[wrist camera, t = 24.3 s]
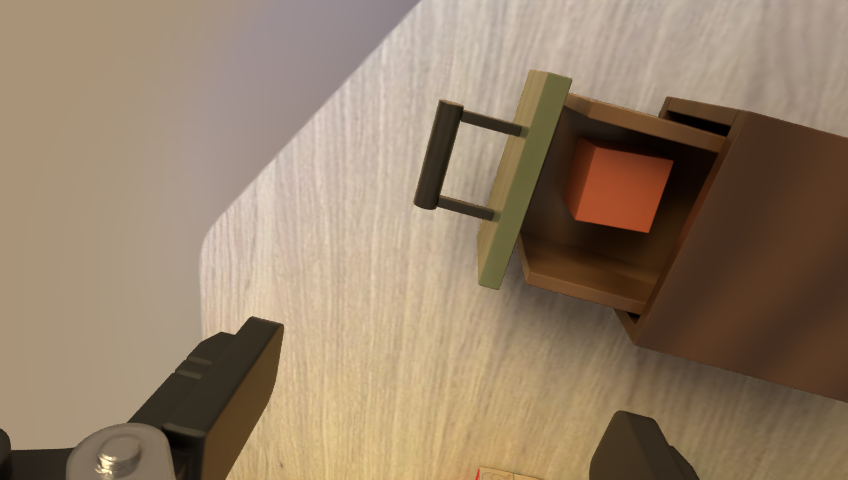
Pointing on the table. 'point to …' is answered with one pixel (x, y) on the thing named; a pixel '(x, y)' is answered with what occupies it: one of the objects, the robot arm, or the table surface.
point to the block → (616, 184)
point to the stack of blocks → (499, 475)
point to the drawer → (545, 185)
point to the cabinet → (759, 257)
